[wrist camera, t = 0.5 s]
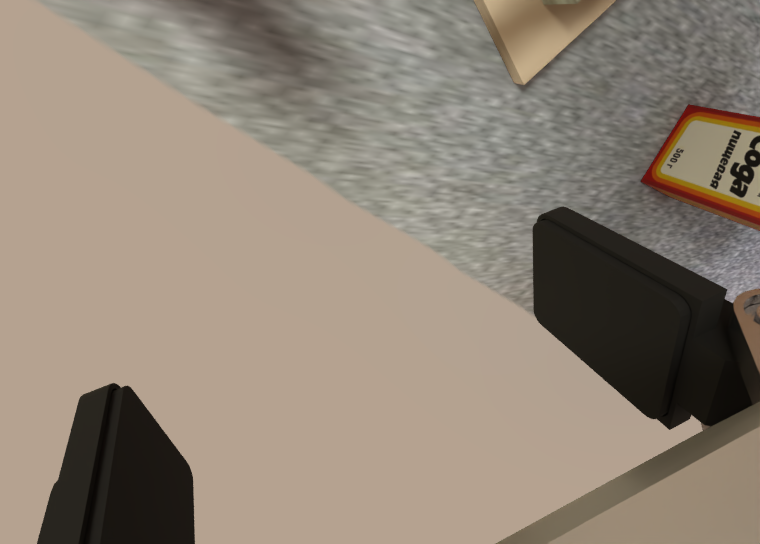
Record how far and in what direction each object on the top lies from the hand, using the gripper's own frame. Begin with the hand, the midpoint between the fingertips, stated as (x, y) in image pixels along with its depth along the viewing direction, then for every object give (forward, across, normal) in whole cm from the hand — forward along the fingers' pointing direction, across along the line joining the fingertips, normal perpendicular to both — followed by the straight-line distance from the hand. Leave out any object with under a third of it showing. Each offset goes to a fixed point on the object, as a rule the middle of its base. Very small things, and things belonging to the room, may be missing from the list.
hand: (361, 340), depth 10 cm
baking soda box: (+31, -48, +19) cm, 60 cm away
